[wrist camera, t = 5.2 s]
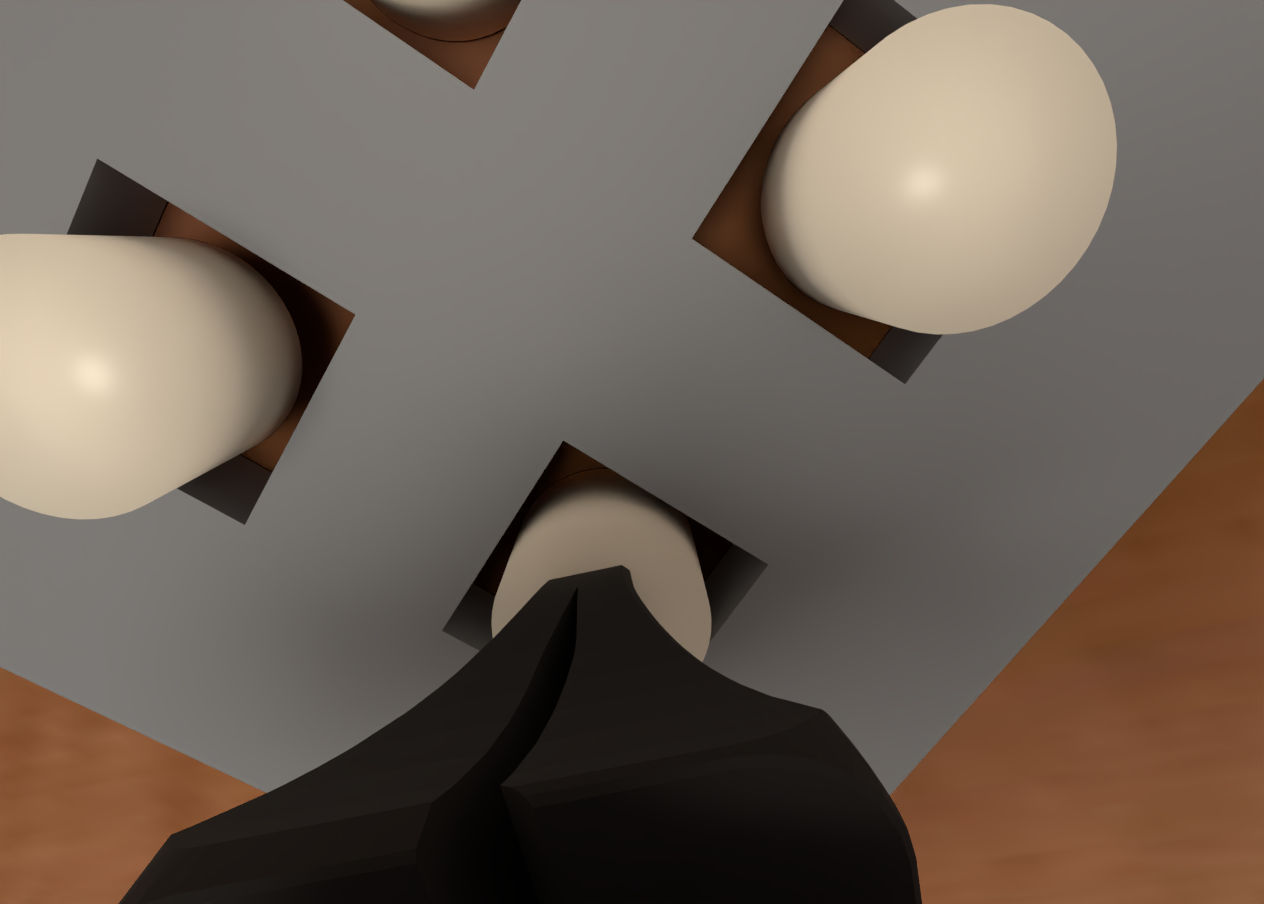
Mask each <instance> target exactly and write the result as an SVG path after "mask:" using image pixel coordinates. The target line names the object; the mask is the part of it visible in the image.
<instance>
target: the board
mask: <svg viewBox="0 0 1264 904" xmlns="http://www.w3.org/2000/svg"><path fill="white" fill-rule="evenodd" d="M969 4H993V5H1001V6H1008V7H1013V8H1017V9H1020V10H1023V11H1027V12H1030V13H1033V14H1035V15H1037V16H1039V17H1041V18H1043V19H1045V20H1047V21H1049V22H1051V23H1052V24H1054V25H1055V26H1056V27H1058V28H1059V29H1061V30H1062V31H1064V32H1065V33H1066V34H1067V35H1069V36H1070V37H1071V38H1072V39H1073V40H1074V41H1075V42H1076V43H1077V44H1078V45H1079V46H1080V47H1081V48H1082V50H1083V51H1084V52H1085V53H1086V55H1087V56H1088V57H1089V59H1090V60H1091V61H1092V63H1093V64H1094V66H1095V68H1096V70H1097V71H1098V73H1099V75H1100V77H1101V79H1102V81H1103V83H1104V85H1105V88H1106V91H1107V93H1108V96H1109V99H1110V102H1111V106H1112V110H1113V115H1114V120H1115V126H1116V138H1117V156H1116V170H1115V176H1114V182H1113V188H1112V191H1111V195H1110V198H1109V202H1108V205H1107V209H1106V211H1105V213H1104V216H1103V218H1102V221H1101V223H1100V226H1099V228H1098V230H1097V232H1096V234H1095V235H1094V237H1093V239H1092V241H1091V243H1090V245H1089V246H1088V248H1087V250H1086V251H1085V252H1084V254H1083V255H1082V257H1081V258H1080V259H1079V261H1078V262H1077V264H1076V265H1075V266H1074V268H1073V269H1072V270H1071V271H1070V272H1069V273H1068V274H1067V275H1066V277H1065V278H1064V279H1063V280H1062V281H1061V282H1060V283H1059V284H1058V285H1057V286H1056V287H1055V288H1054V289H1052V290H1051V291H1050V292H1049V293H1048V294H1047V295H1046V296H1045V297H1043V298H1042V299H1040V300H1039V301H1038V302H1036V303H1035V304H1034V305H1032V306H1031V307H1029V308H1028V309H1026V310H1024V311H1023V312H1021V313H1019V314H1017V315H1015V316H1014V317H1012V318H1010V319H1008V320H1005V321H1003V322H1000V323H998V324H996V325H993V326H990V327H987V328H983V329H979V330H976V331H971V332H965V333H958V334H927V333H918V332H914V331H910V330H906V329H902V328H898V327H895V326H893V327H892V328H891V329H890V331H889V332H888V333H887V335H886V336H885V338H884V339H883V340H882V342H881V343H880V344H879V346H878V347H877V348H876V350H875V351H874V352H873V354H872V355H871V357H870V358H869V359H867V358H866V357H864V356H863V355H861V354H860V353H859V352H857V351H856V350H854V349H853V348H851V347H850V346H848V345H847V344H845V343H844V342H842V341H841V340H839V339H838V338H837V337H835V336H834V335H832V334H831V333H829V332H828V331H826V330H825V329H823V328H822V327H820V326H819V325H818V324H816V323H815V322H813V321H812V320H810V319H809V318H807V317H806V316H804V315H803V314H801V313H800V312H799V311H797V310H796V309H794V308H793V307H791V306H790V305H788V304H787V303H785V302H784V301H782V300H781V299H779V298H778V297H777V296H775V295H774V294H772V293H771V292H769V291H768V290H766V289H765V288H763V287H762V286H760V285H759V284H758V283H756V282H755V281H753V280H752V279H750V278H749V277H747V276H746V275H744V274H743V273H741V272H740V271H738V270H737V269H736V268H734V267H733V266H731V265H730V264H728V263H727V262H725V261H724V260H722V259H721V258H719V257H718V256H717V255H715V254H714V253H712V252H711V251H709V250H708V249H706V248H705V247H703V246H702V245H700V244H699V243H697V242H696V241H695V240H693V239H692V237H693V236H694V234H695V233H696V231H697V230H698V228H699V226H700V225H701V223H702V222H703V220H704V219H705V217H706V215H707V214H708V212H709V211H710V209H711V208H712V206H713V204H714V203H715V201H716V200H717V198H718V197H719V195H720V193H721V192H722V190H723V189H724V187H725V186H726V184H727V182H728V181H729V179H730V178H731V176H732V175H733V173H734V171H735V170H736V168H737V167H738V165H739V164H740V162H741V160H742V159H743V157H744V156H745V154H746V153H747V151H748V149H749V148H750V146H751V145H752V143H753V142H754V140H755V138H756V137H757V135H758V134H759V132H760V131H761V129H762V127H763V126H764V124H765V123H766V121H767V120H768V118H769V117H770V115H771V113H772V112H773V110H774V109H775V107H776V106H777V104H778V102H779V101H780V99H781V98H782V96H783V95H784V93H785V91H786V90H787V88H788V87H789V85H790V84H791V82H792V80H793V79H794V77H795V76H796V74H797V73H798V71H799V69H800V68H801V66H802V65H803V63H804V62H805V60H806V58H807V57H808V55H809V54H810V52H811V51H812V49H813V47H814V46H815V44H816V43H817V41H818V40H819V38H820V36H821V35H822V33H823V32H824V30H825V29H826V27H827V25H828V24H829V25H830V26H832V27H833V28H834V29H836V30H837V31H838V32H839V33H841V34H842V35H843V36H845V37H846V38H847V39H849V40H850V41H851V42H852V43H854V44H855V45H856V46H858V47H859V48H860V49H861V50H863V51H864V52H865V53H867V52H868V51H869V50H871V49H872V48H873V47H874V46H876V45H877V44H878V43H879V42H881V41H882V40H883V39H884V38H886V37H887V36H888V35H890V34H892V33H893V32H895V31H896V30H898V29H899V28H901V27H903V26H904V25H906V24H908V23H910V22H912V21H914V20H916V19H918V18H921V17H923V16H925V15H927V14H930V13H934V12H937V11H940V10H943V9H946V8H951V7H957V6H963V5H969ZM167 201H169V202H170V203H172V204H174V205H175V206H177V207H178V208H180V209H182V210H183V211H185V212H187V213H188V214H190V215H192V216H193V217H195V218H197V219H198V220H200V221H202V222H203V223H205V224H207V225H208V226H210V227H212V228H213V229H215V230H216V231H218V232H220V233H221V234H223V235H225V236H226V237H228V238H230V239H231V240H233V241H235V242H236V243H238V244H240V245H241V246H243V247H245V248H246V249H248V250H250V251H251V252H253V253H254V254H256V255H258V256H259V257H261V258H263V259H264V260H266V261H268V262H269V263H271V264H273V265H274V266H276V267H278V268H279V269H281V270H283V271H284V272H286V273H288V274H289V275H291V276H292V277H294V278H296V279H297V280H299V281H301V282H302V283H304V284H306V285H307V286H309V287H311V288H312V289H314V290H316V291H317V292H319V293H321V294H322V295H324V296H326V297H327V298H329V299H330V300H332V301H334V302H335V303H337V304H339V305H340V306H342V307H344V308H345V309H347V310H349V311H350V312H352V313H354V314H355V317H354V319H353V320H352V322H351V324H350V326H349V328H348V330H347V332H346V334H345V336H344V338H343V339H342V341H341V343H340V345H339V347H338V349H337V351H336V353H335V355H334V357H333V358H332V360H331V362H330V364H329V366H328V368H327V370H326V372H325V374H324V376H323V377H322V379H321V381H320V383H319V385H318V387H317V389H316V391H315V393H314V395H313V396H312V398H311V400H310V402H309V404H308V406H307V408H306V410H305V412H304V414H303V415H302V417H301V419H300V421H299V423H298V425H297V427H296V429H295V431H294V433H293V434H292V436H291V438H290V440H289V442H288V444H287V446H286V448H285V450H284V452H283V453H282V455H281V457H280V459H279V461H278V463H277V465H276V467H275V469H274V470H273V472H270V471H268V470H266V469H264V468H263V467H261V466H259V465H257V464H255V463H254V462H252V461H250V460H248V459H246V458H245V457H243V456H241V455H237V456H235V457H234V458H232V459H230V460H228V461H226V462H224V463H222V464H221V465H219V466H217V467H215V468H213V469H211V470H209V471H208V472H206V473H204V474H202V475H200V476H198V477H196V478H195V479H193V480H191V481H189V482H187V483H185V484H184V485H182V486H180V487H178V488H176V489H174V490H172V491H171V492H169V493H167V494H165V495H163V496H161V497H159V498H158V499H156V500H154V501H152V502H150V503H148V504H146V505H144V506H142V507H140V508H138V509H135V510H133V511H131V512H128V513H124V514H121V515H117V516H114V517H107V518H101V519H69V518H60V517H55V516H50V515H45V514H41V513H38V512H35V511H32V510H29V509H26V508H23V507H21V506H19V505H16V504H14V503H12V502H10V501H7V500H5V499H3V498H2V497H0V667H1V668H4V669H6V670H8V671H10V672H12V673H14V674H16V675H18V676H21V677H23V678H25V679H27V680H29V681H31V682H33V683H35V684H37V685H40V686H42V687H44V688H46V689H48V690H50V691H52V692H54V693H56V694H59V695H61V696H63V697H65V698H67V699H69V700H71V701H73V702H75V703H78V704H80V705H82V706H84V707H86V708H88V709H90V710H92V711H95V712H97V713H99V714H101V715H103V716H105V717H107V718H109V719H111V720H114V721H116V722H118V723H120V724H122V725H124V726H126V727H128V728H130V729H133V730H135V731H137V732H139V733H141V734H143V735H145V736H147V737H150V738H152V739H154V740H156V741H158V742H160V743H162V744H164V745H166V746H169V747H171V748H173V749H175V750H177V751H179V752H181V753H183V754H185V755H188V756H190V757H192V758H194V759H196V760H198V761H200V762H202V763H205V764H207V765H209V766H211V767H213V768H215V769H217V770H219V771H221V772H224V773H226V774H228V775H230V776H232V777H234V778H236V779H238V780H240V781H243V782H245V783H247V784H249V785H251V786H253V787H255V788H257V789H260V790H262V791H264V792H266V793H268V792H270V791H272V790H274V789H276V788H278V787H280V786H282V785H284V784H286V783H288V782H290V781H292V780H294V779H296V778H298V777H300V776H302V775H304V774H305V773H307V772H309V771H311V770H313V769H315V768H317V767H319V766H321V765H322V764H324V763H326V762H328V761H329V760H331V759H333V758H335V757H337V756H338V755H340V754H342V753H344V752H345V751H347V750H349V749H350V748H352V747H354V746H355V745H357V744H358V743H360V742H361V741H363V740H365V739H366V738H368V737H369V736H371V735H372V734H374V733H375V732H377V731H378V730H380V729H381V728H383V727H385V726H386V725H388V724H389V723H391V722H392V721H394V720H395V719H397V718H398V717H400V716H401V715H403V714H404V713H406V712H407V711H409V710H410V709H411V708H413V707H414V706H416V705H417V704H418V703H419V702H421V701H422V700H423V699H425V698H426V697H427V696H429V695H430V694H431V693H432V692H434V691H435V690H436V689H438V688H439V687H440V686H441V685H443V684H444V683H445V682H446V681H447V680H449V679H450V678H451V677H452V676H453V675H454V674H456V673H457V672H458V671H459V670H460V669H461V668H462V667H463V666H464V665H466V664H467V663H468V662H469V661H470V660H471V659H472V658H473V657H474V656H475V655H476V654H477V653H478V652H479V651H480V650H481V649H482V648H483V647H484V646H485V645H487V644H488V643H489V642H490V641H491V640H492V639H493V636H492V625H491V621H492V609H493V604H494V600H495V596H494V595H492V594H490V593H489V592H487V591H485V590H483V589H481V588H480V587H478V586H476V585H474V584H472V583H473V581H474V580H475V578H476V576H477V575H478V573H479V572H480V570H481V569H482V567H483V565H484V564H485V562H486V561H487V559H488V558H489V556H490V555H491V553H492V551H493V550H494V548H495V547H496V545H497V544H498V542H499V540H500V539H501V537H502V536H503V534H504V533H505V531H506V529H507V528H508V526H509V525H510V523H511V522H512V520H513V518H514V517H515V515H516V514H517V512H518V511H519V509H520V507H521V506H522V504H523V503H524V501H525V500H526V498H527V496H528V495H529V493H530V492H531V490H532V489H533V487H534V485H535V484H536V482H537V481H538V479H539V478H540V476H541V474H542V473H543V471H544V470H545V468H546V467H547V465H548V463H549V462H550V460H551V459H552V457H553V456H554V454H555V452H556V451H557V449H558V448H559V446H560V445H561V443H562V441H565V442H567V443H568V444H570V445H572V446H573V447H575V448H577V449H578V450H580V451H582V452H583V453H585V454H587V455H588V456H590V457H592V458H593V459H595V460H596V461H598V462H600V463H601V464H603V465H605V466H606V467H608V468H610V469H611V470H613V471H615V472H616V473H618V474H620V475H621V476H623V477H625V478H626V479H628V480H630V481H631V482H633V483H634V484H636V485H638V486H639V487H641V488H643V489H644V490H646V491H648V492H649V493H651V494H653V495H654V496H656V497H658V498H659V499H661V500H663V501H664V502H666V503H668V504H669V505H671V506H672V507H674V508H676V509H677V510H679V511H681V512H682V513H684V514H686V515H687V516H689V517H691V518H692V519H694V520H696V521H697V522H699V523H701V524H702V525H704V526H706V527H707V528H709V529H710V530H712V531H714V532H715V533H717V534H719V535H720V536H722V537H724V538H725V539H727V540H729V541H730V542H732V543H733V544H732V545H731V547H730V548H729V549H728V551H727V552H726V554H725V555H724V556H723V558H722V559H721V560H720V562H719V563H718V564H717V566H716V567H715V569H714V570H713V571H712V573H711V574H710V575H709V577H708V578H707V579H706V581H705V582H704V584H705V588H706V592H707V596H708V600H709V605H710V611H711V636H710V642H709V646H708V649H707V652H706V655H705V658H704V660H703V663H704V664H706V665H707V666H709V667H710V668H711V669H713V670H715V671H717V672H718V673H720V674H722V675H724V676H726V677H727V678H729V679H731V680H733V681H735V682H737V683H739V684H741V685H744V686H747V687H749V688H752V689H754V690H757V691H759V692H762V693H764V694H767V695H770V696H773V697H776V698H780V699H784V700H788V701H792V702H796V703H800V704H804V705H807V706H811V707H815V708H819V709H822V710H824V711H825V712H826V713H828V714H829V715H830V717H831V718H832V719H833V720H834V721H835V722H836V723H837V725H838V726H839V727H840V728H841V730H842V731H843V732H844V733H845V734H846V736H847V737H848V738H849V739H850V741H851V742H852V743H853V744H854V745H855V747H856V748H857V749H858V751H859V752H860V753H861V755H862V756H863V758H864V759H865V760H866V762H867V763H868V764H869V766H870V767H871V768H872V770H873V771H874V773H875V774H876V776H877V777H878V779H879V780H880V782H881V783H882V785H883V786H884V788H885V789H886V791H887V792H888V794H889V796H890V795H891V793H892V792H893V791H894V790H895V789H896V788H897V787H898V786H899V785H900V783H901V782H902V781H903V780H904V779H905V778H906V777H907V776H908V774H909V773H910V772H911V771H912V770H913V769H914V768H915V767H916V766H917V764H918V763H919V762H920V761H921V760H922V759H923V758H924V757H925V756H926V754H927V753H928V752H929V751H930V750H931V749H932V748H933V747H934V746H935V744H936V743H937V742H938V741H939V740H940V739H941V738H942V737H943V735H944V734H945V733H946V732H947V731H948V730H949V729H950V728H951V727H952V725H953V724H954V723H955V722H956V721H957V720H958V719H959V718H960V717H961V715H962V714H963V713H964V712H965V711H966V710H967V709H968V708H969V706H970V705H971V704H972V703H973V702H974V701H975V700H976V699H977V698H978V696H979V695H980V694H981V693H982V692H983V691H984V690H985V689H986V688H987V686H988V685H989V684H990V683H991V682H992V681H993V680H994V679H995V677H996V676H997V675H998V674H999V673H1000V672H1001V671H1002V670H1003V669H1004V667H1005V666H1006V665H1007V664H1008V663H1009V662H1010V661H1011V660H1012V659H1013V657H1014V656H1015V655H1016V654H1017V653H1018V652H1019V651H1020V650H1021V649H1022V647H1023V646H1024V645H1025V644H1026V643H1027V642H1028V641H1029V640H1030V638H1031V637H1032V636H1033V635H1034V634H1035V633H1036V632H1037V631H1038V630H1039V628H1040V627H1041V626H1042V625H1043V624H1044V623H1045V622H1046V621H1047V620H1048V618H1049V617H1050V616H1051V615H1052V614H1053V613H1054V612H1055V611H1056V609H1057V608H1058V607H1059V606H1060V605H1061V604H1062V603H1063V602H1064V601H1065V599H1066V598H1067V597H1068V596H1069V595H1070V594H1071V593H1072V592H1073V591H1074V589H1075V588H1076V587H1077V586H1078V585H1079V584H1080V583H1081V582H1082V581H1083V579H1084V578H1085V577H1086V576H1087V575H1088V574H1089V573H1090V572H1091V570H1092V569H1093V568H1094V567H1095V566H1096V565H1097V564H1098V563H1099V562H1100V560H1101V559H1102V558H1103V557H1104V556H1105V555H1106V554H1107V553H1108V552H1109V550H1110V549H1111V548H1112V547H1113V546H1114V545H1115V544H1116V543H1117V541H1118V540H1119V539H1120V538H1121V537H1122V536H1123V535H1124V534H1125V533H1126V531H1127V530H1128V529H1129V528H1130V527H1131V526H1132V525H1133V524H1134V523H1135V521H1136V520H1137V519H1138V518H1139V517H1140V516H1141V515H1142V514H1143V512H1144V511H1145V510H1146V509H1147V508H1148V507H1149V506H1150V505H1151V504H1152V502H1153V501H1154V500H1155V499H1156V498H1157V497H1158V496H1159V495H1160V494H1161V492H1162V491H1163V490H1164V489H1165V488H1166V487H1167V486H1168V485H1169V484H1170V482H1171V481H1172V480H1173V479H1174V478H1175V477H1176V476H1177V475H1178V473H1179V472H1180V471H1181V470H1182V469H1183V468H1184V467H1185V466H1186V465H1187V463H1188V462H1189V461H1190V460H1191V459H1192V458H1193V457H1194V456H1195V455H1196V453H1197V452H1198V451H1199V450H1200V449H1201V448H1202V447H1203V446H1204V444H1205V443H1206V442H1207V441H1208V440H1209V439H1210V438H1211V437H1212V436H1213V434H1214V433H1215V432H1216V431H1217V430H1218V429H1219V428H1220V427H1221V426H1222V424H1223V423H1224V422H1225V421H1226V420H1227V419H1228V418H1229V417H1230V416H1231V414H1232V413H1233V412H1234V411H1235V410H1236V409H1237V408H1238V407H1239V405H1240V404H1241V403H1242V402H1243V401H1244V400H1245V399H1246V398H1247V397H1248V395H1249V394H1250V393H1251V392H1252V391H1253V390H1254V389H1255V388H1256V387H1257V385H1258V384H1259V383H1260V382H1261V381H1262V380H1263V379H1264V0H521V1H520V3H519V5H518V7H517V9H516V11H515V13H514V15H513V17H512V19H511V20H510V22H509V24H508V26H507V28H506V30H505V32H504V34H503V36H502V38H501V39H500V41H499V43H498V45H497V47H496V49H495V51H494V53H493V55H492V57H491V58H490V60H489V62H488V64H487V66H486V68H485V70H484V72H483V74H482V76H481V77H480V79H479V81H478V83H477V85H476V87H475V89H472V88H471V87H469V86H468V85H466V84H465V83H463V82H462V81H460V80H459V79H457V78H456V77H454V76H453V75H452V74H450V73H449V72H447V71H446V70H444V69H443V68H441V67H440V66H438V65H437V64H435V63H434V62H433V61H431V60H430V59H428V58H427V57H425V56H424V55H422V54H421V53H419V52H418V51H416V50H415V49H414V48H412V47H411V46H409V45H408V44H406V43H405V42H403V41H402V40H400V39H399V38H397V37H396V36H394V35H393V34H392V33H390V32H389V31H387V30H386V29H384V28H383V27H381V26H380V25H378V24H377V23H375V22H374V21H373V20H371V19H370V18H368V17H367V16H365V15H364V14H362V13H361V12H359V11H358V10H356V9H355V8H353V7H352V6H351V5H349V4H348V3H346V2H345V1H343V0H0V235H3V234H60V235H103V236H146V237H152V235H153V233H154V231H155V228H156V226H157V224H158V221H159V219H160V217H161V215H162V212H163V210H164V208H165V205H166V203H167Z"/></svg>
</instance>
